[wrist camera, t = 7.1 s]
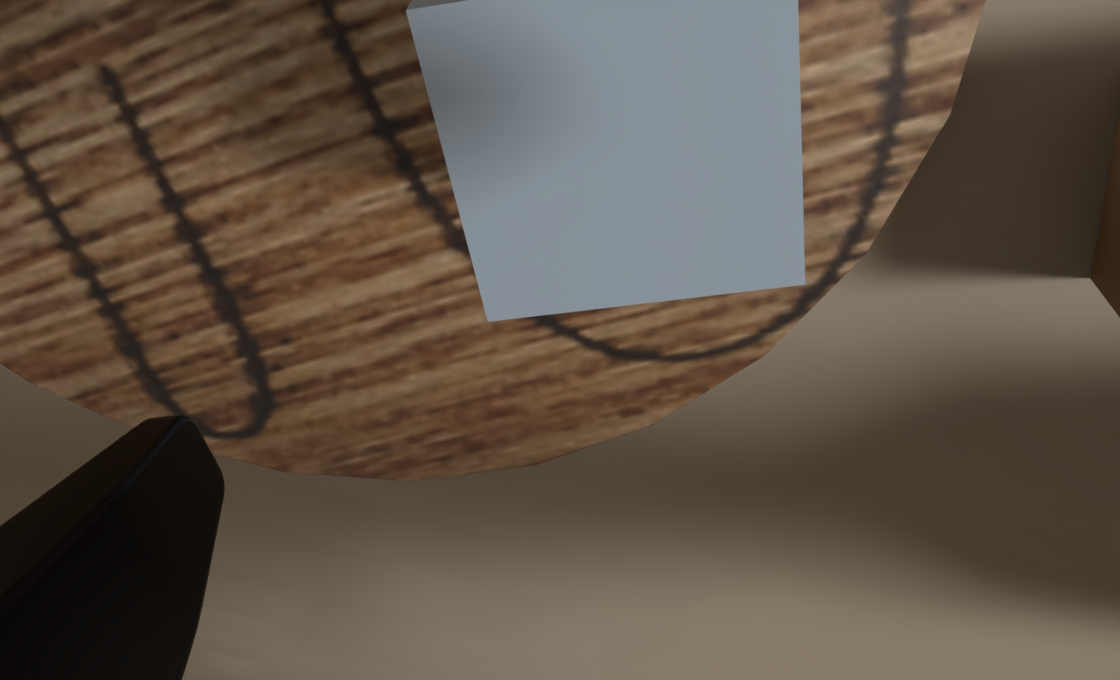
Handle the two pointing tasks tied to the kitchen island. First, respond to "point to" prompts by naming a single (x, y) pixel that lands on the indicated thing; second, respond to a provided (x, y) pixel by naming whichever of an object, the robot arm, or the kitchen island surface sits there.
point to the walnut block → (1110, 235)
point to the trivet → (371, 233)
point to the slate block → (618, 146)
